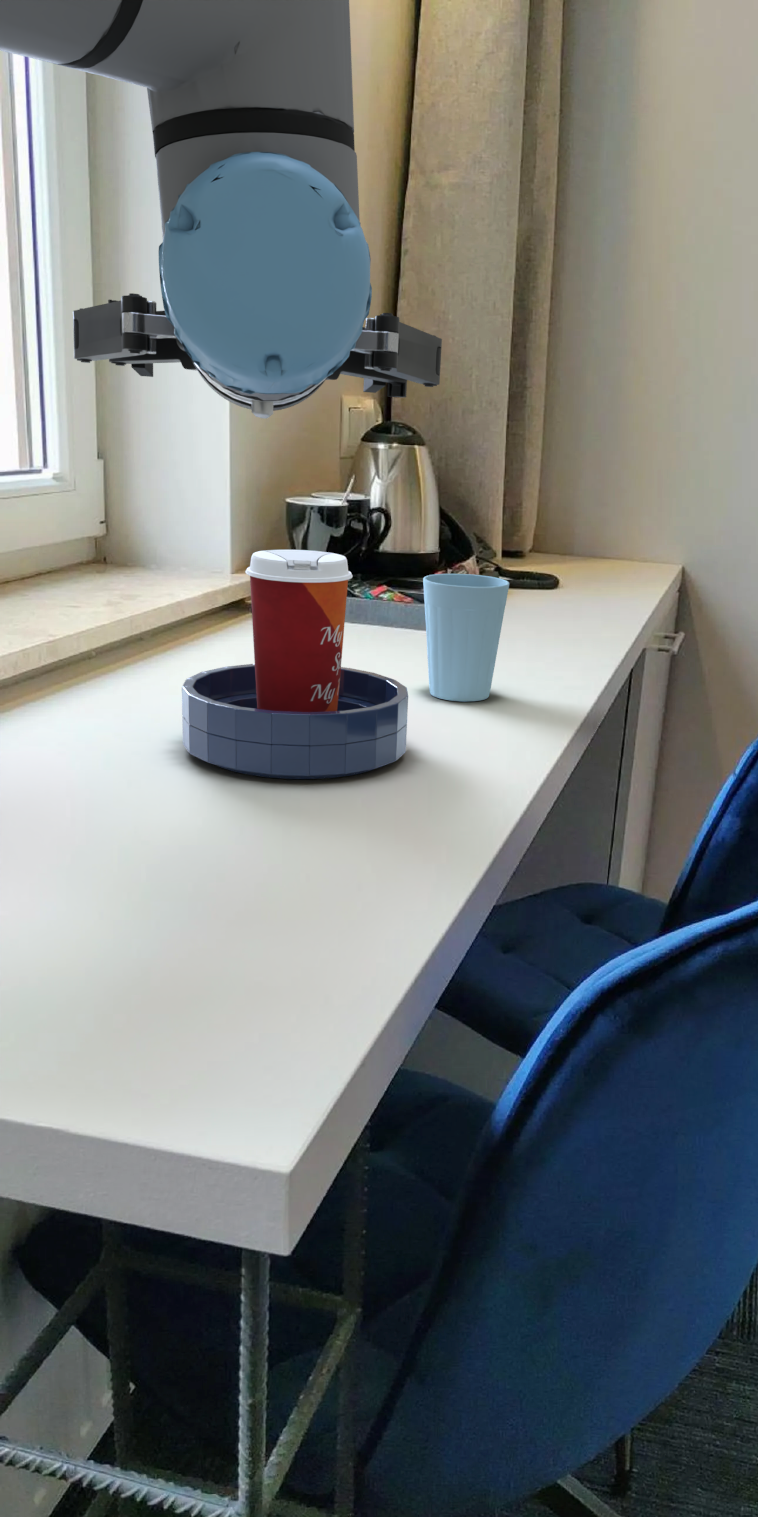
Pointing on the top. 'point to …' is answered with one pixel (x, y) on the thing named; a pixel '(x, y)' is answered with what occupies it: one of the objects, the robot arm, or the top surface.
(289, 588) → the paper cup
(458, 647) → the cup
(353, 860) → the top surface
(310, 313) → the robot arm
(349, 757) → the bowl
